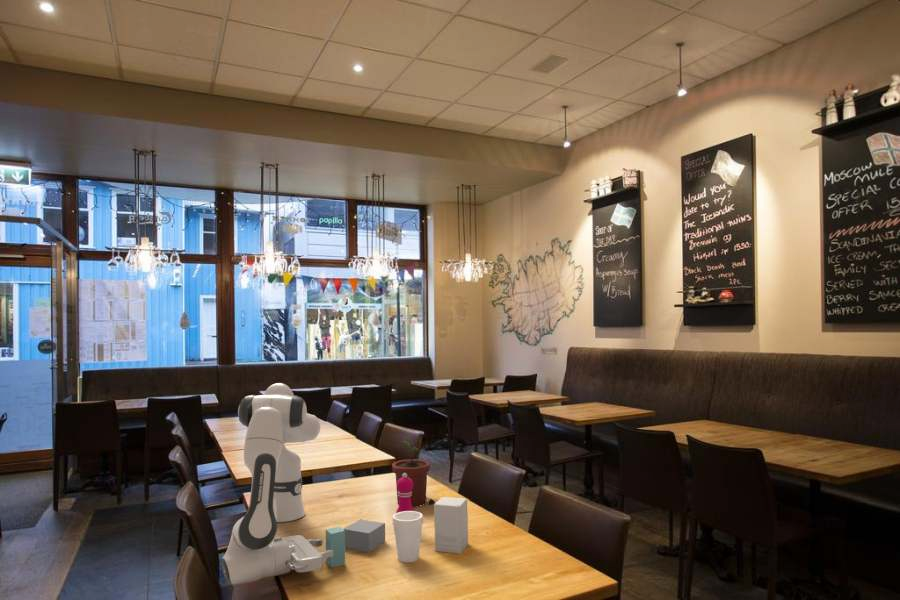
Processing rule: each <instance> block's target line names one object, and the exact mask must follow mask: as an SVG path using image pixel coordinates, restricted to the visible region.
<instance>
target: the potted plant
mask: <svg viewBox="0 0 900 600" xmlns="http://www.w3.org/2000/svg"><path fill="white" fill-rule="evenodd" d="M402 441H403V444H405V446H406V447H408V448H409V449H410V459H402V460H398V461H395V462H393V463H392V464H391V468H392V472H393V473H394V475H395V482H396V483H395V484H396V499H397V505H398V506H399V500H400V499H399V496H398V491H399V490H398V489H397V481H398V480H399V479H400V478H402V475H403V473H406V474H407V477H408V478H410V479H411V480H412V481H413V488H412V489H411V491H412V496H411V505H412V507H413V508H416V507H415V506H419V507H421V506H420V505H422V506H424V505H425V504H426V502H427V485H428V484H427V479H428V473H429V472H430V471H431V462H430V461H428V460H425V459H418V458H417V459H414V458H413V454H412V452H413V451H414V452H415V451H416V452H417V451H419V448H417V447H415V446H414V447H413V449H412V448H411V445H410V442H408V441H406V440H402ZM428 501H429V502H427V504H428V503H429V504H428V505H434V503H436V501H435V500H434V499H432V498H430V499H429V500H428ZM423 504H424V505H423Z"/></svg>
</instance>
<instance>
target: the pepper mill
mask: <svg viewBox="0 0 900 600" xmlns="http://www.w3.org/2000/svg"><path fill="white" fill-rule="evenodd" d="M412 488H413V481H412V480H411V479H410V478H408V477H407V474H406V473H403V475H402V478H400V479H399V480H398V481H397V487H396V490H397V489H398V490H399V491H398V496H399V499H400V500H399V505H398V507H397V509H396V512H395V514H396V513H398V512H403V511H415V510H414V507H412V505H411V496H412V491H411V489H412Z"/></svg>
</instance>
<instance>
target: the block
mask: <svg viewBox="0 0 900 600" xmlns="http://www.w3.org/2000/svg"><path fill="white" fill-rule="evenodd" d="M343 529H344V528H342V527H341V526H336V527H331V528H330V527H329V528H325V551H326V550H327V549H332V550H333V556H332V557H328V558H327V559H325V563H326V564H327V565H328V566H329V567H330V568H335V567H338V566H337V565H339V566H342V565H341V564H343V565H346V548H345V530H343ZM334 566H335V567H334Z"/></svg>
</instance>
